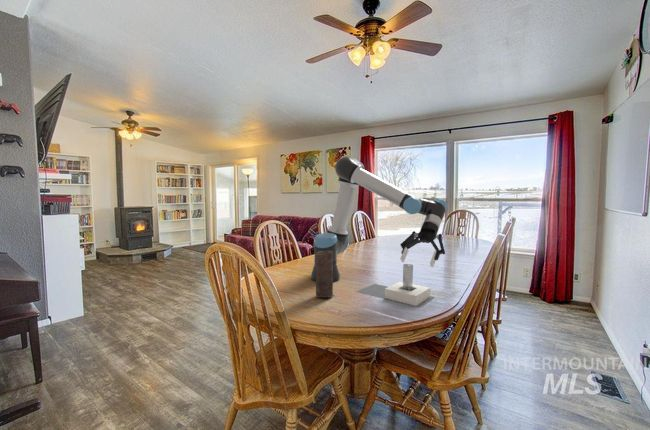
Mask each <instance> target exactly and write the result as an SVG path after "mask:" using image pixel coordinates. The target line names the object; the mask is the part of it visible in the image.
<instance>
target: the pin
mask: <svg viewBox="0 0 650 430" xmlns="http://www.w3.org/2000/svg"><path fill="white" fill-rule="evenodd" d="M402 269H403V270H402V282H403V290H407V291H412V289H413V284H414V281H413V280H414V279H413V278H414V264H410V263H404V264H403V265H402Z"/></svg>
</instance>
